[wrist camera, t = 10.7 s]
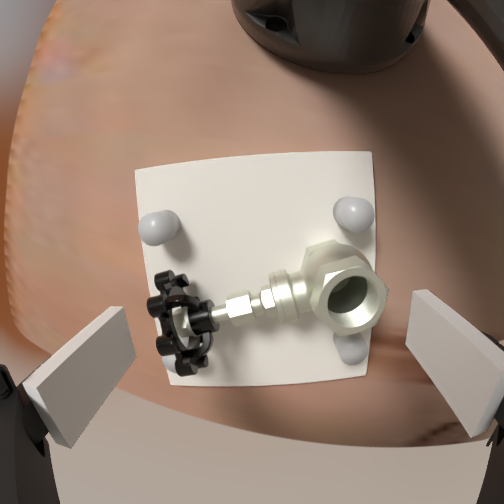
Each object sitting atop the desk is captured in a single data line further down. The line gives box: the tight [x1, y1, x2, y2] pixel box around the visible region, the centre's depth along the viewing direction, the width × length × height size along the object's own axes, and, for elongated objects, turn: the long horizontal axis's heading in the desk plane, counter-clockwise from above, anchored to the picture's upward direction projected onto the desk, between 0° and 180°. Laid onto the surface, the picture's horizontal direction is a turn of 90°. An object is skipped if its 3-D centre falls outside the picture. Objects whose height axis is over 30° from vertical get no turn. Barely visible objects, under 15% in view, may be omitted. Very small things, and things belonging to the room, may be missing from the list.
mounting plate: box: [135, 151, 375, 386], centre depth 19 cm, size 17×16×4 cm
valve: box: [147, 239, 389, 377], centre depth 16 cm, size 7×7×12 cm
